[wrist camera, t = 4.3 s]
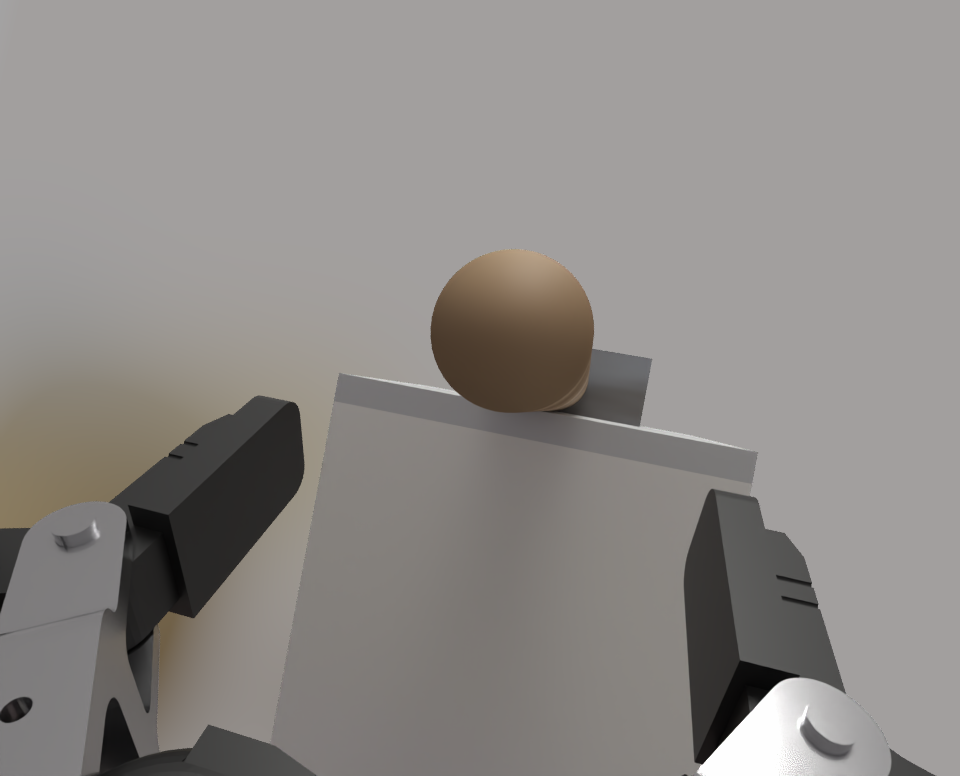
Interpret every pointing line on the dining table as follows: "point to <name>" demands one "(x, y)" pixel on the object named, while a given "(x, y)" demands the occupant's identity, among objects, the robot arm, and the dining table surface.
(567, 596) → the stand
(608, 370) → the mallet
